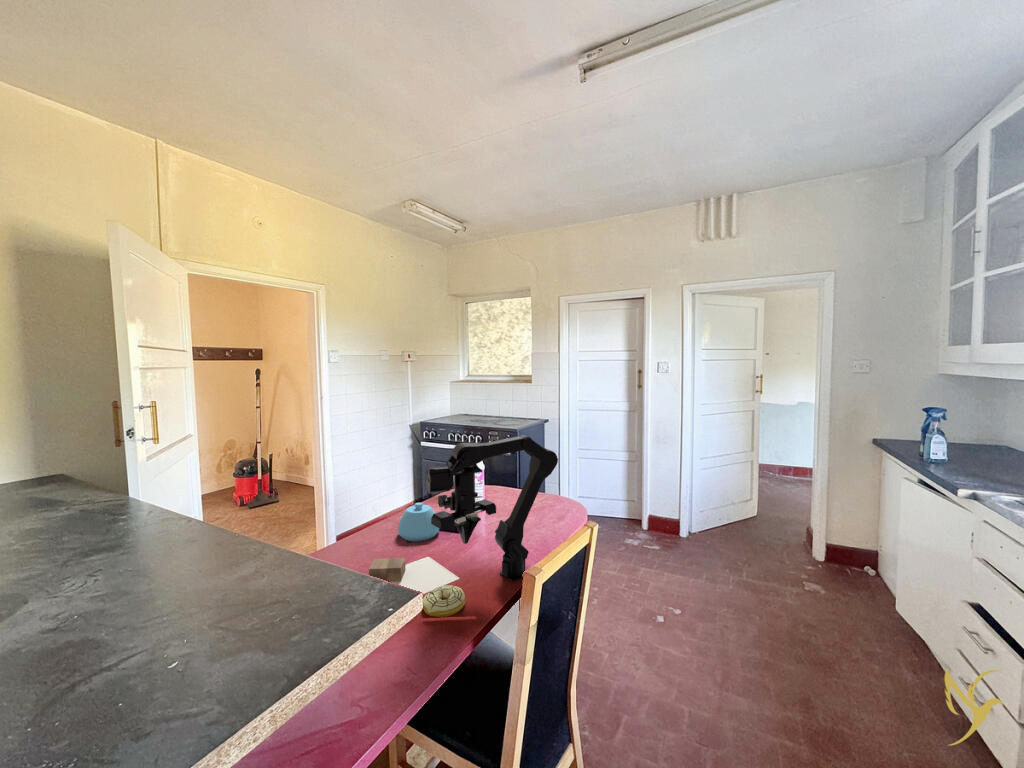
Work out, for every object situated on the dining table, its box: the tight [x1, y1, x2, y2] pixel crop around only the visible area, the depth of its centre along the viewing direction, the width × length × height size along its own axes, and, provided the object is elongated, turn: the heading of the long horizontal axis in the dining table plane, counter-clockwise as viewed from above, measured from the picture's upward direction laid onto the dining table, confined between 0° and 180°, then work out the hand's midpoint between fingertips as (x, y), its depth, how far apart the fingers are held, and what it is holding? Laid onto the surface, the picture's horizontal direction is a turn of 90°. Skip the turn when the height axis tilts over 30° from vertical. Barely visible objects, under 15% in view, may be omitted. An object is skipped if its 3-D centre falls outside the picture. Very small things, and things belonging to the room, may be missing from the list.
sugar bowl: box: [397, 502, 440, 542], centre depth 148 cm, size 15×15×12 cm
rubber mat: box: [393, 556, 461, 595], centre depth 117 cm, size 16×18×1 cm
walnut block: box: [368, 557, 406, 583], centre depth 117 cm, size 4×6×9 cm
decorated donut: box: [422, 584, 466, 619], centre depth 103 cm, size 10×11×4 cm
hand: (465, 543), depth 113 cm, fingers closed
